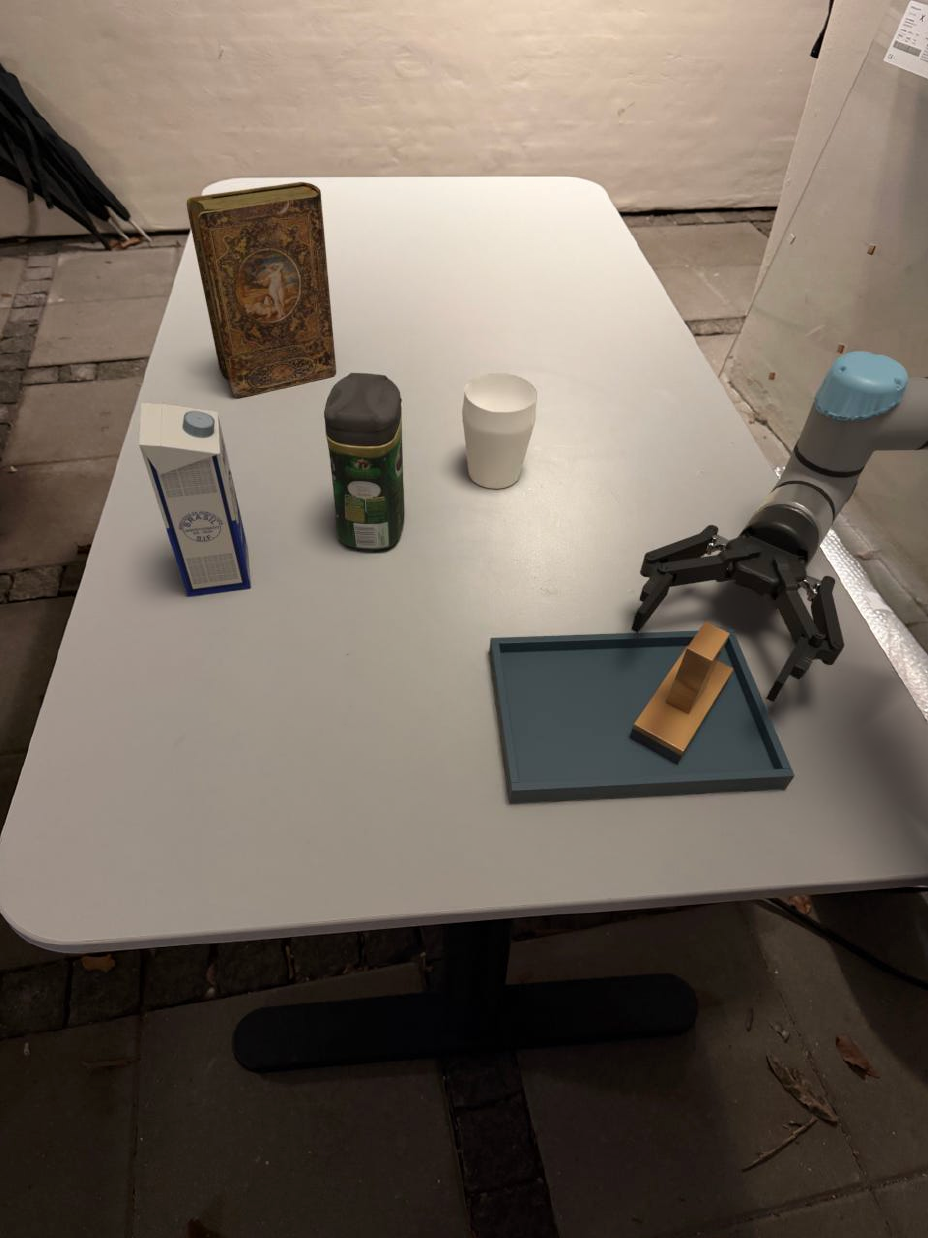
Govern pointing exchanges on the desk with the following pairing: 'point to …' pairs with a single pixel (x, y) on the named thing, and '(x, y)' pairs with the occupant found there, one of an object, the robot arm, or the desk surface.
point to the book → (266, 285)
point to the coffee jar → (366, 460)
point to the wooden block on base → (685, 696)
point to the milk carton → (195, 496)
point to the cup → (497, 427)
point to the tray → (622, 720)
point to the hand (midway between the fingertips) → (703, 655)
